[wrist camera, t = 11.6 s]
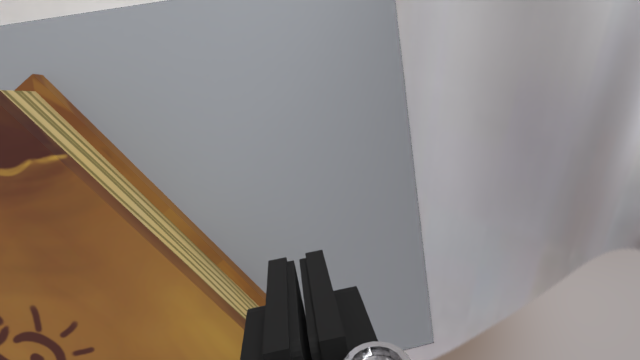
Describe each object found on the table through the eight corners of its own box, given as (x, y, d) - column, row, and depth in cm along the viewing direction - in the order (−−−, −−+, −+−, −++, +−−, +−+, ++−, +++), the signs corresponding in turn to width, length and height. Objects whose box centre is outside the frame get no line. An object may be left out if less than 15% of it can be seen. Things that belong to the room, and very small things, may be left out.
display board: (389, -32, 21) (406, -51, 18) (432, 340, 27) (449, 366, 25) (-335, 78, 18) (-441, 73, 15) (-104, 470, 24) (-151, 516, 21)
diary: (-188, 284, 21) (-357, 349, 15) (45, 75, 20) (-44, 64, 14) (114, 491, 26) (70, 596, 21) (307, 333, 25) (315, 398, 20)
